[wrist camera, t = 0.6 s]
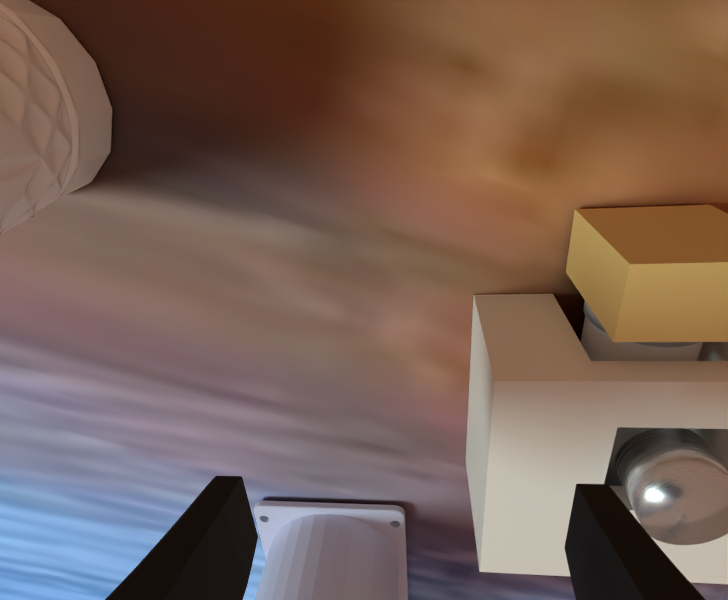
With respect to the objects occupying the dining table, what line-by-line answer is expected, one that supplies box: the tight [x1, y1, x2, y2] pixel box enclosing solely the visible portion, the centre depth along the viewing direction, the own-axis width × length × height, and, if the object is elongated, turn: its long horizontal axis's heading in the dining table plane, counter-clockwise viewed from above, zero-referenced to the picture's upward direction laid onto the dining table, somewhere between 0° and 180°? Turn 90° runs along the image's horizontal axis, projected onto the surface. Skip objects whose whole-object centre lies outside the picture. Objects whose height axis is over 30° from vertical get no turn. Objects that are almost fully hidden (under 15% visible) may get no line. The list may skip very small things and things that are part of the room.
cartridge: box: [566, 205, 728, 486], centre depth 17 cm, size 10×4×5 cm, turn 4°
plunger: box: [614, 428, 728, 545], centre depth 14 cm, size 3×3×2 cm
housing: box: [466, 294, 728, 584], centre depth 18 cm, size 9×11×6 cm
